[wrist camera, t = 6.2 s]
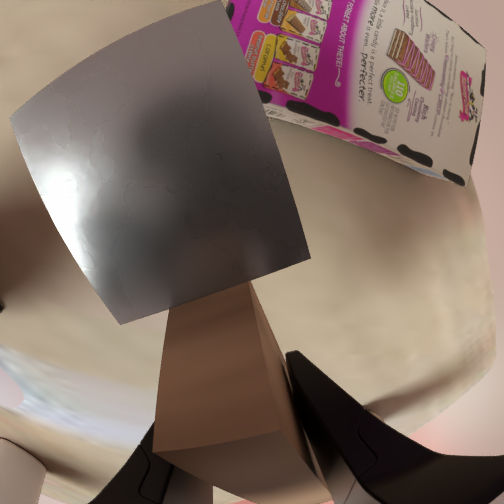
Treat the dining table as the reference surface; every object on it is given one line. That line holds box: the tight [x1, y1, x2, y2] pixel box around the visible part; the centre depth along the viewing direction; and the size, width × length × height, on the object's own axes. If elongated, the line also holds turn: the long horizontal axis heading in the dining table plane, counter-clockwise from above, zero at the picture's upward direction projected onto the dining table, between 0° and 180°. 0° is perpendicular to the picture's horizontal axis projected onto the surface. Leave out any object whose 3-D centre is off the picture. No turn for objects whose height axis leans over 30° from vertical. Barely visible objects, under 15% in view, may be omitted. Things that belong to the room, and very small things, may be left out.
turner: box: [9, 0, 333, 504], centre depth 7 cm, size 17×6×5 cm, turn 20°
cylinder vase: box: [0, 439, 46, 504], centre depth 20 cm, size 12×12×25 cm
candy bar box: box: [225, 0, 486, 188], centre depth 13 cm, size 11×5×16 cm
